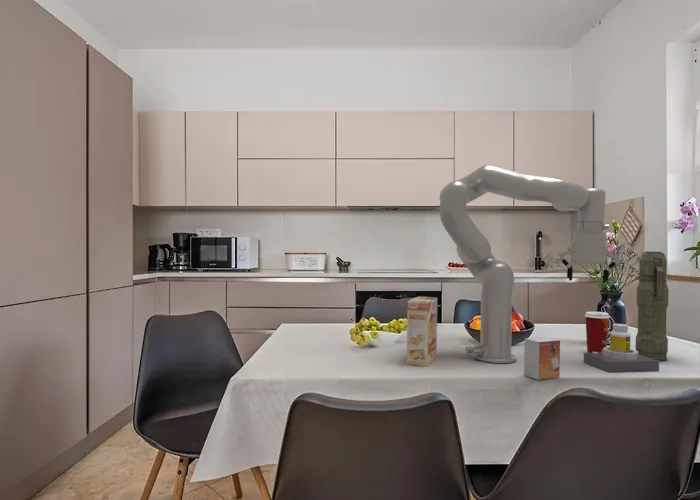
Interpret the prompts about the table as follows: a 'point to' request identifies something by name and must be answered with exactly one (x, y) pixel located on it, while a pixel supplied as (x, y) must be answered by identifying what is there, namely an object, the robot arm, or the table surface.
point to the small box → (542, 358)
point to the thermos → (652, 306)
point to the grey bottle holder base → (621, 361)
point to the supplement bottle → (620, 339)
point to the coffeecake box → (421, 330)
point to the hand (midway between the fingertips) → (587, 281)
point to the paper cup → (596, 331)
